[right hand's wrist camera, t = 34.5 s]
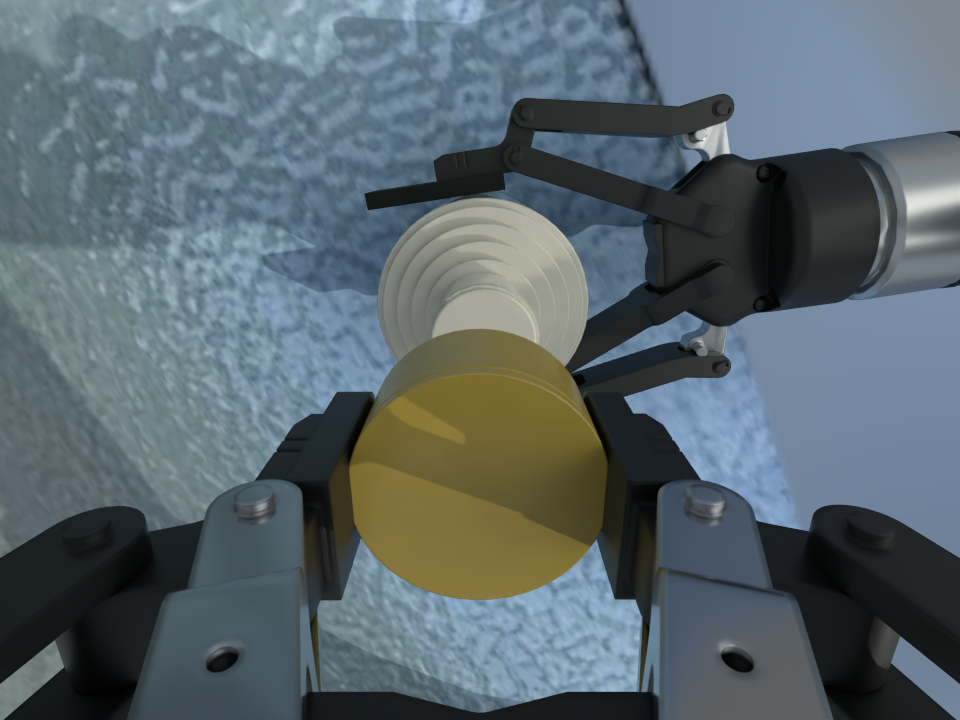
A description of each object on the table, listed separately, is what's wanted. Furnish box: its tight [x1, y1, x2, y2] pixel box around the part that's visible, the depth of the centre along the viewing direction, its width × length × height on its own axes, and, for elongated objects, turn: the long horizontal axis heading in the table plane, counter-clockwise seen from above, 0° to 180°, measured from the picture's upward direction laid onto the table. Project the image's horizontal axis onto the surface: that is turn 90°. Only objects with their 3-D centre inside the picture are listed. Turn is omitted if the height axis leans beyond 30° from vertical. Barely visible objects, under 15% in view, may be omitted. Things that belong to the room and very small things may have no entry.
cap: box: [349, 329, 608, 600], centre depth 11 cm, size 5×5×2 cm
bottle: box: [377, 191, 589, 367], centre depth 26 cm, size 8×8×18 cm
